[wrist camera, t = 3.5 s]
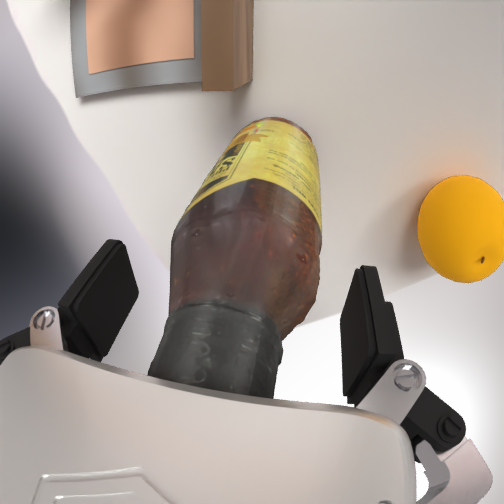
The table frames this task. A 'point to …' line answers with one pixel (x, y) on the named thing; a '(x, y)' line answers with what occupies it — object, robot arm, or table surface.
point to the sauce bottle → (244, 263)
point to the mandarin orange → (462, 229)
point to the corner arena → (160, 43)
